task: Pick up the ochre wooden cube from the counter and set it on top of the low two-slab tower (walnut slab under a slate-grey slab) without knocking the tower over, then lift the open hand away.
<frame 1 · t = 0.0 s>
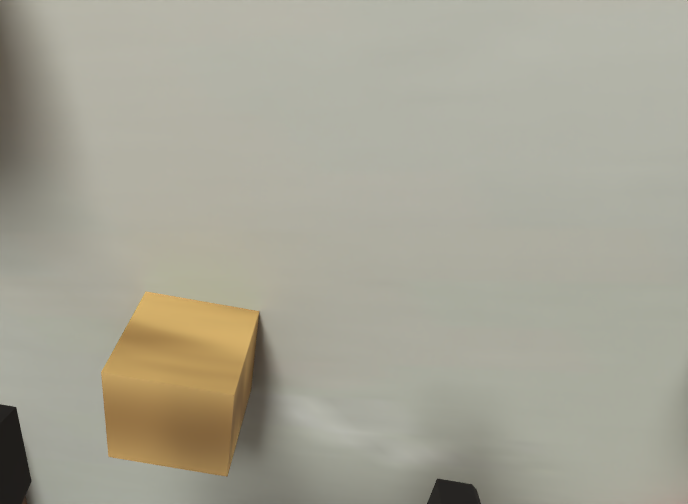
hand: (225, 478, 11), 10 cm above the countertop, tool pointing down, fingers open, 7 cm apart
ochre cube: (201, 341, 23), on the countertop
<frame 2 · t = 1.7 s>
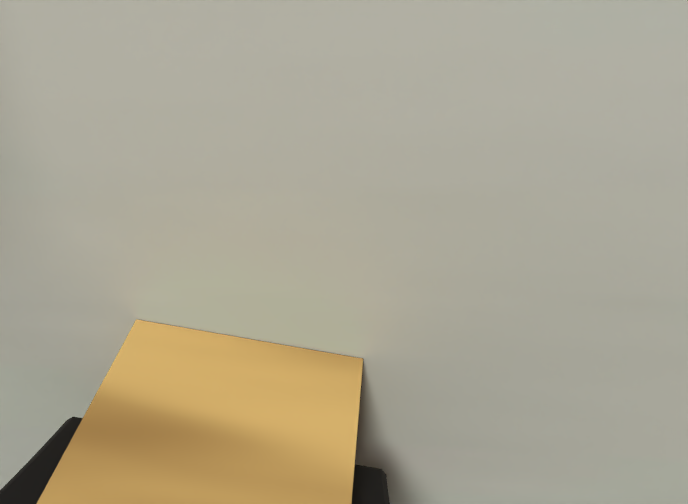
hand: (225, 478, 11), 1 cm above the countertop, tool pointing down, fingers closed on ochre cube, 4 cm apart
ochre cube: (242, 415, 12), on the countertop, touching gripper
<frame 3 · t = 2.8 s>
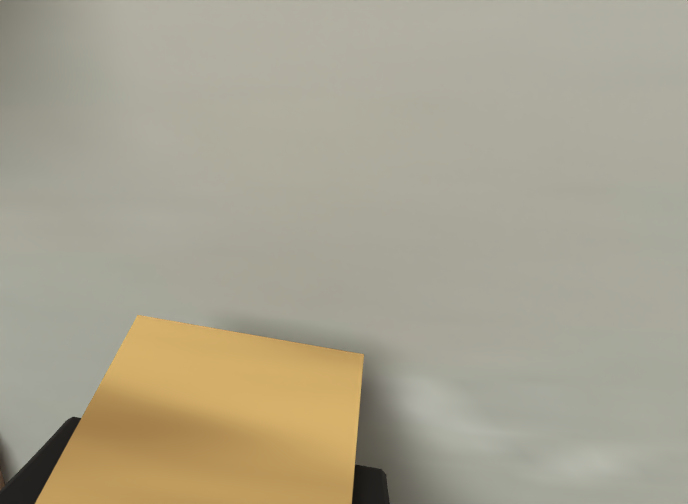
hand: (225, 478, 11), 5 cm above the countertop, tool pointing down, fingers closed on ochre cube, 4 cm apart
ochre cube: (243, 411, 12), point 3 cm above the countertop, touching gripper
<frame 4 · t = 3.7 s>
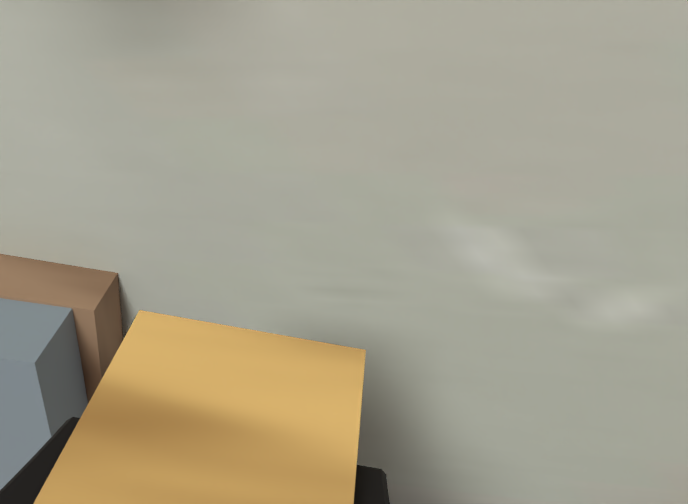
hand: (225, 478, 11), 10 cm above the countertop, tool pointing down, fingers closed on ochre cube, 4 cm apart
tower base: (26, 330, 25), on the countertop, touching tower top
ochre cube: (245, 406, 12), point 9 cm above the countertop, touching gripper
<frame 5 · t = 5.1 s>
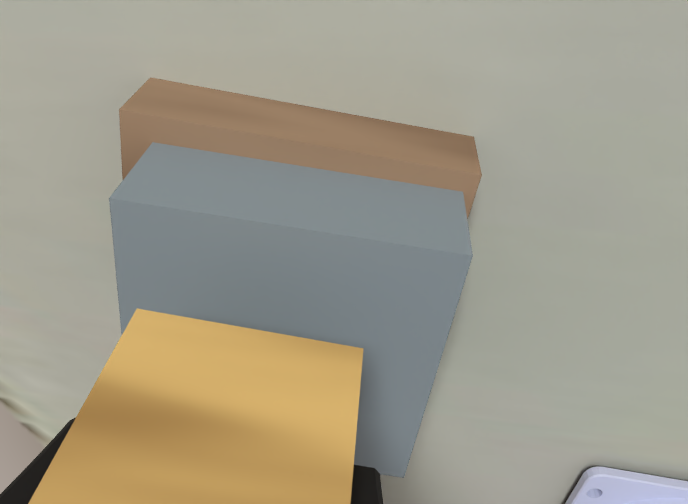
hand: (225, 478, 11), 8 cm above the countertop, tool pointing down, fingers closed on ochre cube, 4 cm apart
tower base: (296, 231, 18), on the countertop, touching tower top
ochre cube: (242, 405, 12), point 6 cm above the countertop, touching gripper
tower top: (294, 289, 16), point 2 cm above the countertop, touching tower base
when the fingers open (8 cm above the countertop, at t = 5.4 s): ochre cube drops 2 cm, point 4 cm above the countertop.
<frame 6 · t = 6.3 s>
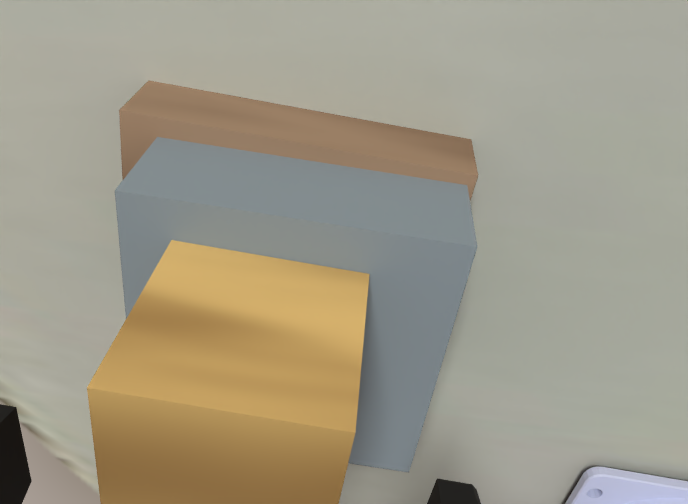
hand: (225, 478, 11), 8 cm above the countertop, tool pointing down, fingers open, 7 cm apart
tower base: (295, 232, 18), on the countertop, touching tower top
ochre cube: (263, 331, 14), point 4 cm above the countertop
tower top: (298, 283, 16), point 2 cm above the countertop, touching tower base
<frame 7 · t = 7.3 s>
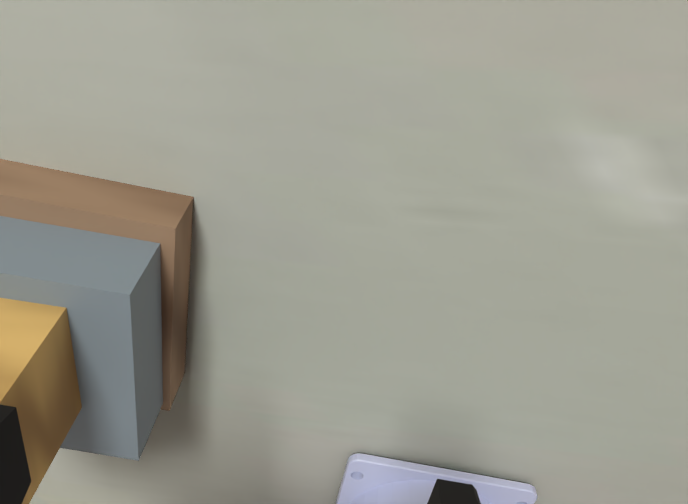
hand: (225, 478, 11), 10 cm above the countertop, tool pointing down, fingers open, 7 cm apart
tower base: (83, 262, 23), on the countertop
ochre cube: (6, 350, 18), point 4 cm above the countertop, touching tower top
tower top: (56, 312, 21), point 2 cm above the countertop, touching ochre cube
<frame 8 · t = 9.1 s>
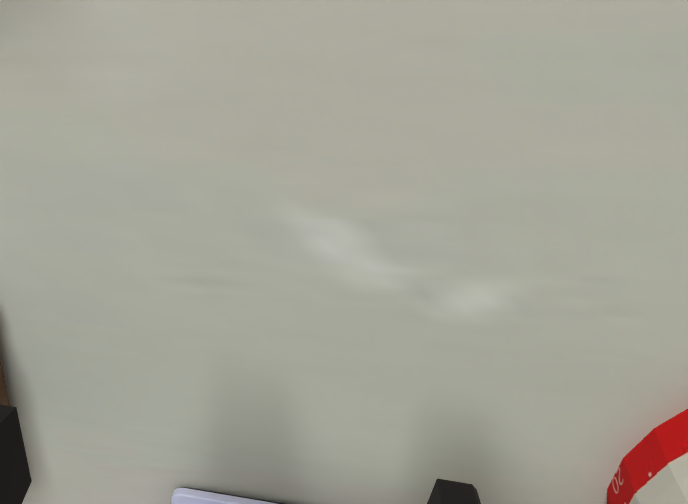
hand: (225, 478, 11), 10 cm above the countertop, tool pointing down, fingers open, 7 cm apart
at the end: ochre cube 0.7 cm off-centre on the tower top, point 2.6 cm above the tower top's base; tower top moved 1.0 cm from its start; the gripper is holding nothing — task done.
